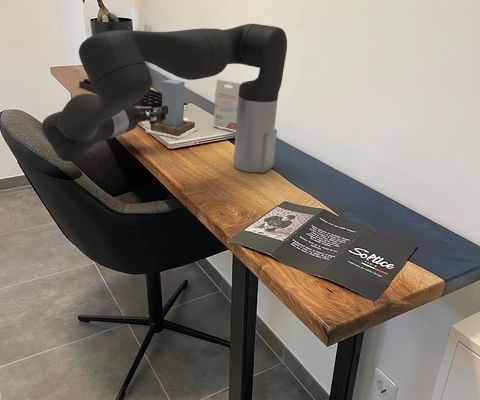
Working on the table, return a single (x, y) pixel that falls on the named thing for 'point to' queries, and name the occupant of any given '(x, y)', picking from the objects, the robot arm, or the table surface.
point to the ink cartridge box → (226, 104)
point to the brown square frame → (173, 128)
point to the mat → (160, 133)
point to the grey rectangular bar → (173, 102)
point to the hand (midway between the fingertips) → (153, 106)
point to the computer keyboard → (147, 100)
